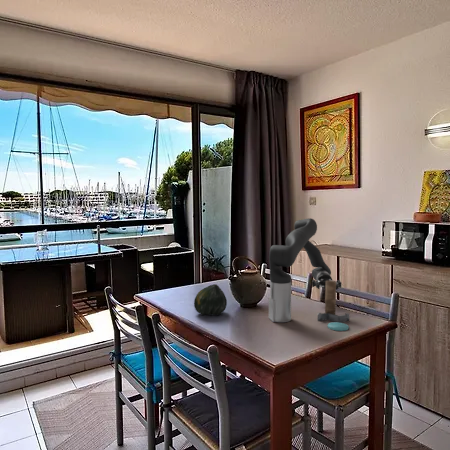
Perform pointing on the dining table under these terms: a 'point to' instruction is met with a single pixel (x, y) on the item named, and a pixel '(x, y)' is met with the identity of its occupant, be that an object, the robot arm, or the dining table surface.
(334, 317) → the zigzag rail
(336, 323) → the teal pad
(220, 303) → the squash
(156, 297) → the dining table surface
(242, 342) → the dining table surface
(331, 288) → the walnut peg
